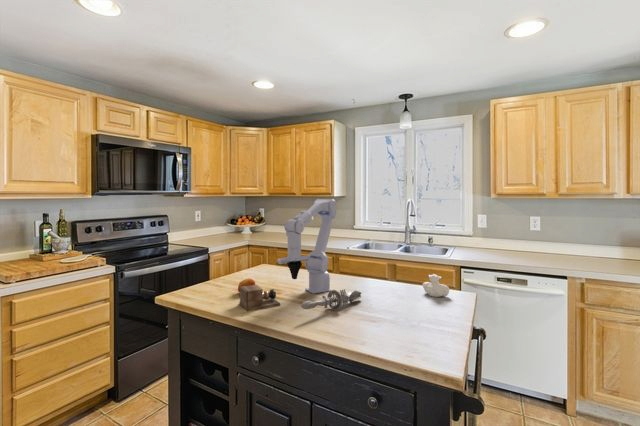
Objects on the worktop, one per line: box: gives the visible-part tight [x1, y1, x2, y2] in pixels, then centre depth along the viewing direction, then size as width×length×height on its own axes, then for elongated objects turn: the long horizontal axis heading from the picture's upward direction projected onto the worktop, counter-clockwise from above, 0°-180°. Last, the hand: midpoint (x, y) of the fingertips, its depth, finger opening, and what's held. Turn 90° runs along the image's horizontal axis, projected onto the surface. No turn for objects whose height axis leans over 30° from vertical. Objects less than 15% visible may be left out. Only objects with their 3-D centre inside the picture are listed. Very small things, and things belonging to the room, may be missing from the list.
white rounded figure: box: [421, 273, 450, 298], centre depth 147 cm, size 12×8×11 cm
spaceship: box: [300, 289, 363, 311], centre depth 130 cm, size 8×35×8 cm
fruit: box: [237, 277, 256, 293], centre depth 150 cm, size 8×8×8 cm
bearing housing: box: [239, 284, 281, 312], centre depth 135 cm, size 14×10×8 cm
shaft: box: [263, 288, 277, 300], centre depth 135 cm, size 12×4×4 cm, turn 120°
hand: (294, 278), depth 140 cm, fingers closed
